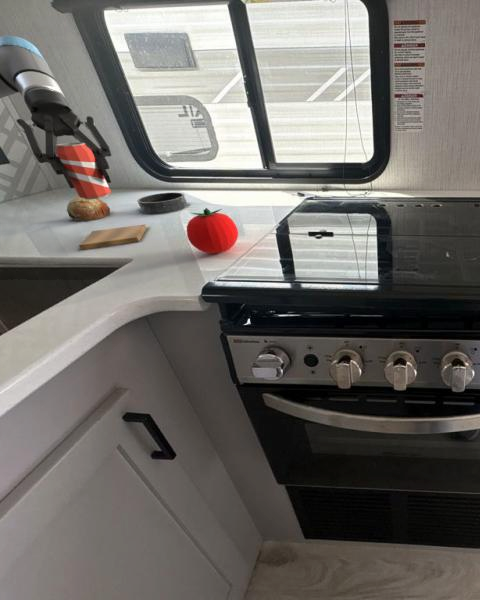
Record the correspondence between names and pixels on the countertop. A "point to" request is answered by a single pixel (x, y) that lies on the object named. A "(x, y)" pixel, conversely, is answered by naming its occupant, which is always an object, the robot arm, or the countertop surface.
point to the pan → (162, 203)
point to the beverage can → (83, 170)
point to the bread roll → (87, 209)
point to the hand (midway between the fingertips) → (89, 181)
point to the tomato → (212, 232)
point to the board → (113, 236)
